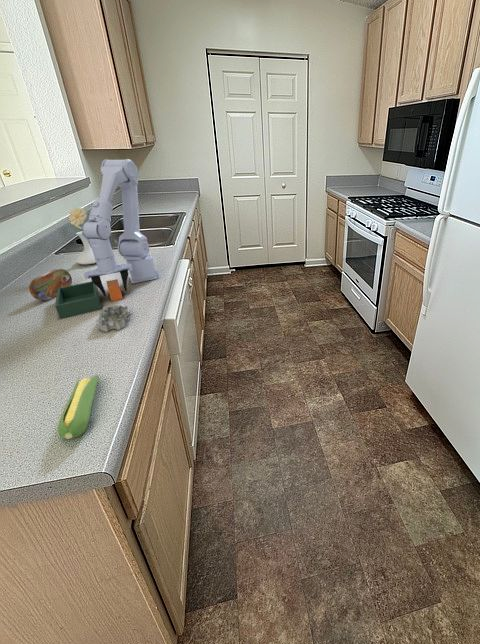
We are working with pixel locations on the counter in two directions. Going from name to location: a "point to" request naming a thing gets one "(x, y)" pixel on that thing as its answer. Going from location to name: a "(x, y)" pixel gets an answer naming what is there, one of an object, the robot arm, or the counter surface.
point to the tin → (49, 284)
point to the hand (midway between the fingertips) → (115, 292)
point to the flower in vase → (76, 219)
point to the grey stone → (112, 318)
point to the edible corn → (78, 409)
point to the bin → (77, 299)
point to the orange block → (114, 290)
